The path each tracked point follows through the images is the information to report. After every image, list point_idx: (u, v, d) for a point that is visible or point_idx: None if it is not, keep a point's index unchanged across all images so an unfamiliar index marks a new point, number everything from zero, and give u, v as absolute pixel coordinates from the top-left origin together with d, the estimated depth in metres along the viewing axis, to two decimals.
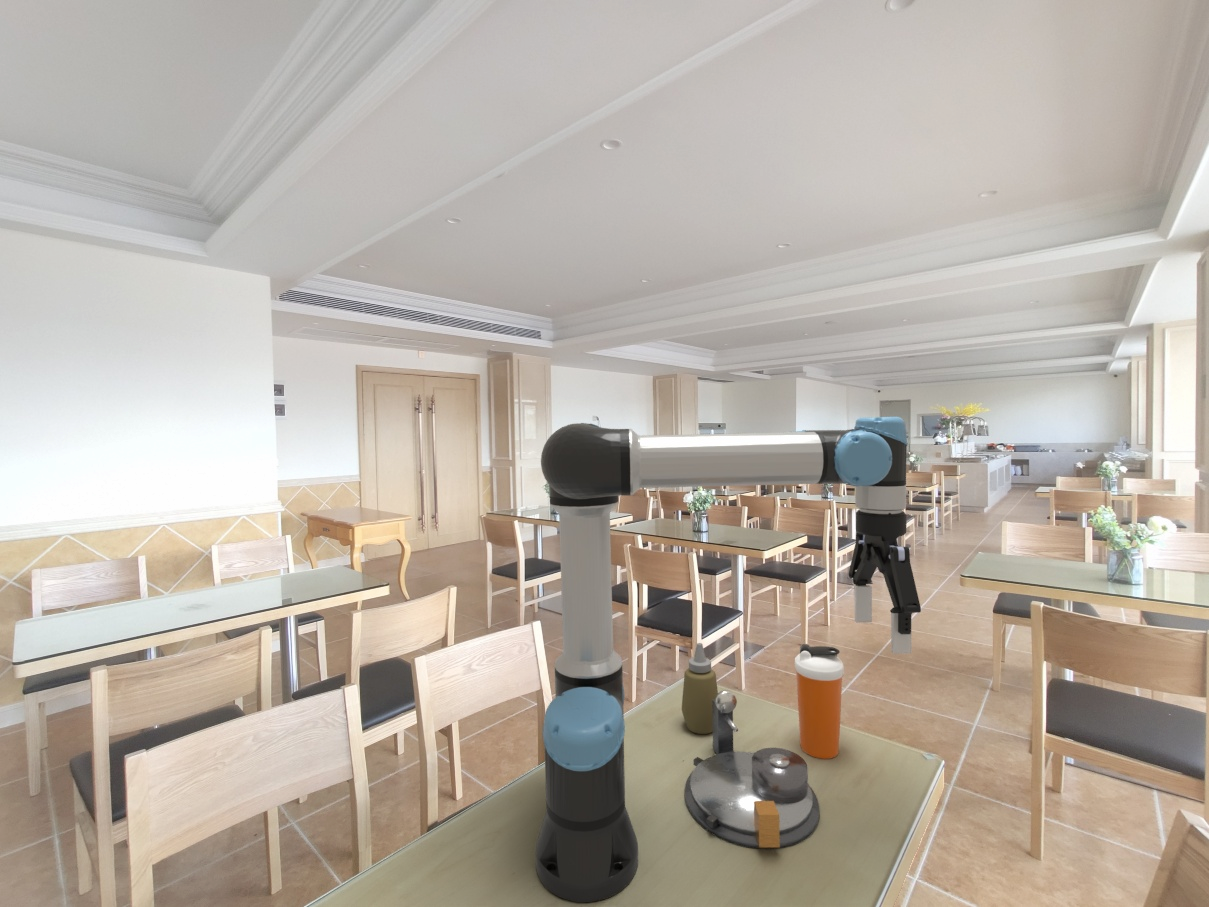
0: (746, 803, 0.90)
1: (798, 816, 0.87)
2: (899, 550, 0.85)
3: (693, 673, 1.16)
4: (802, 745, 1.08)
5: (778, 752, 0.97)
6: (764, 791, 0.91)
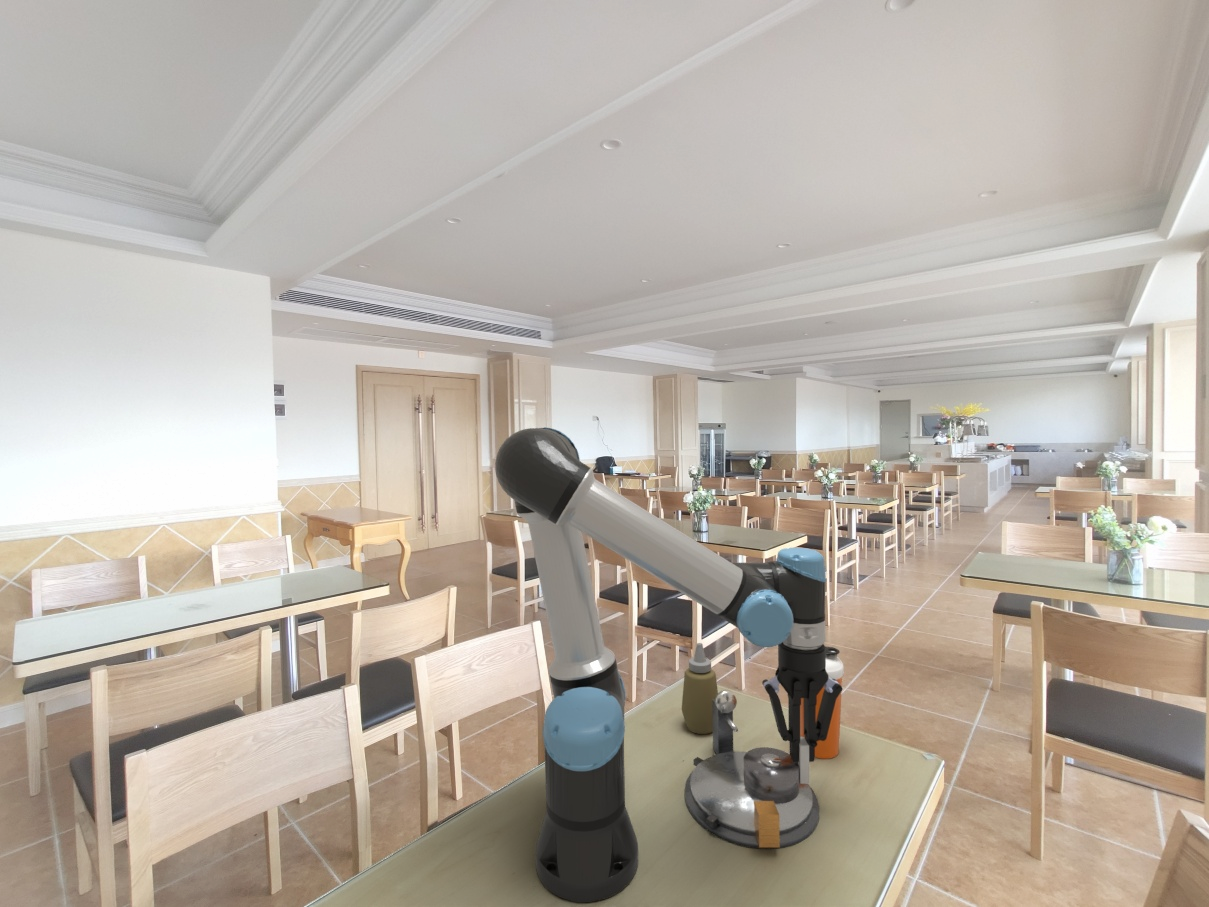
0: (746, 803, 0.90)
1: (798, 816, 0.87)
2: (764, 686, 0.94)
3: (693, 673, 1.16)
4: None
5: (770, 752, 0.97)
6: (755, 790, 0.91)
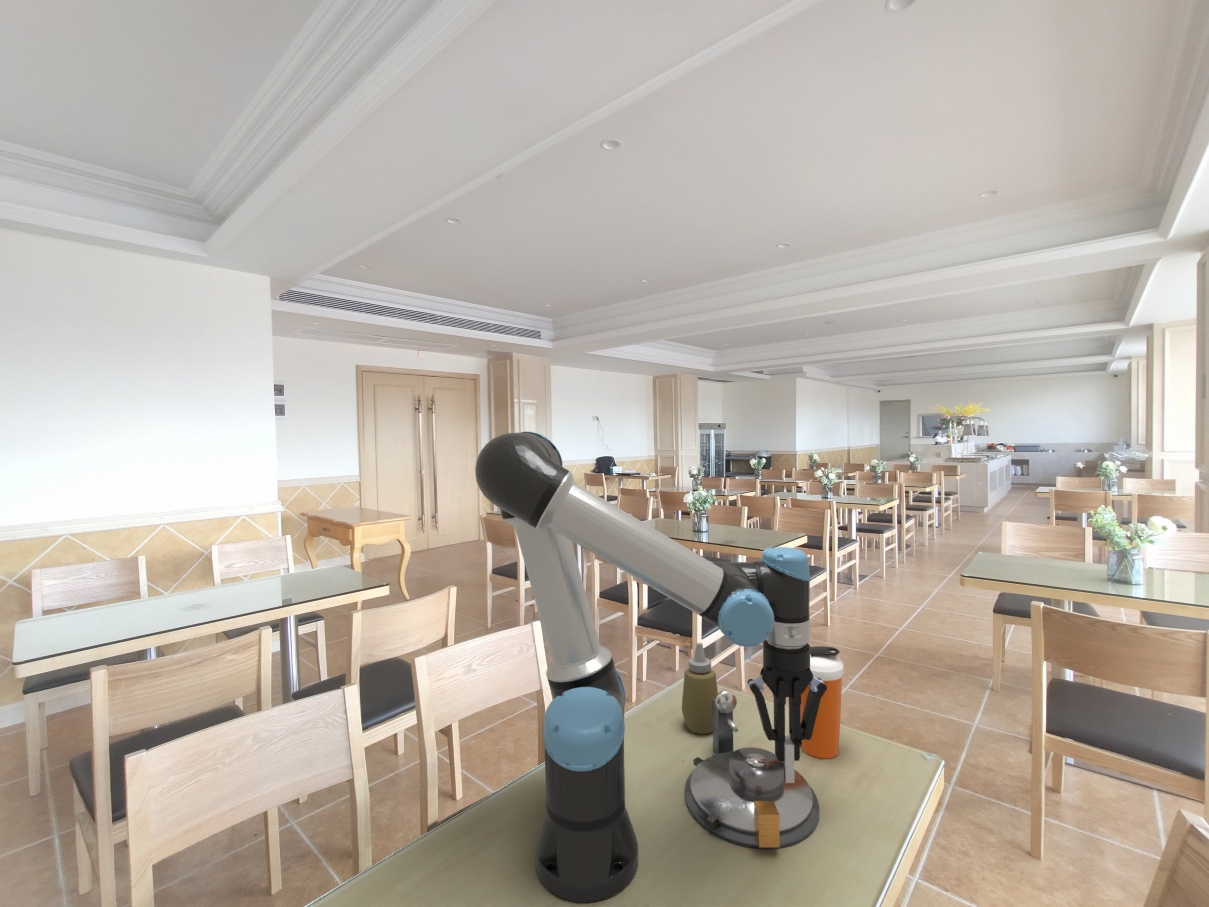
0: (746, 803, 0.90)
1: (798, 816, 0.87)
2: (749, 686, 0.94)
3: (693, 673, 1.16)
4: (802, 745, 1.08)
5: (756, 752, 0.97)
6: (740, 790, 0.91)
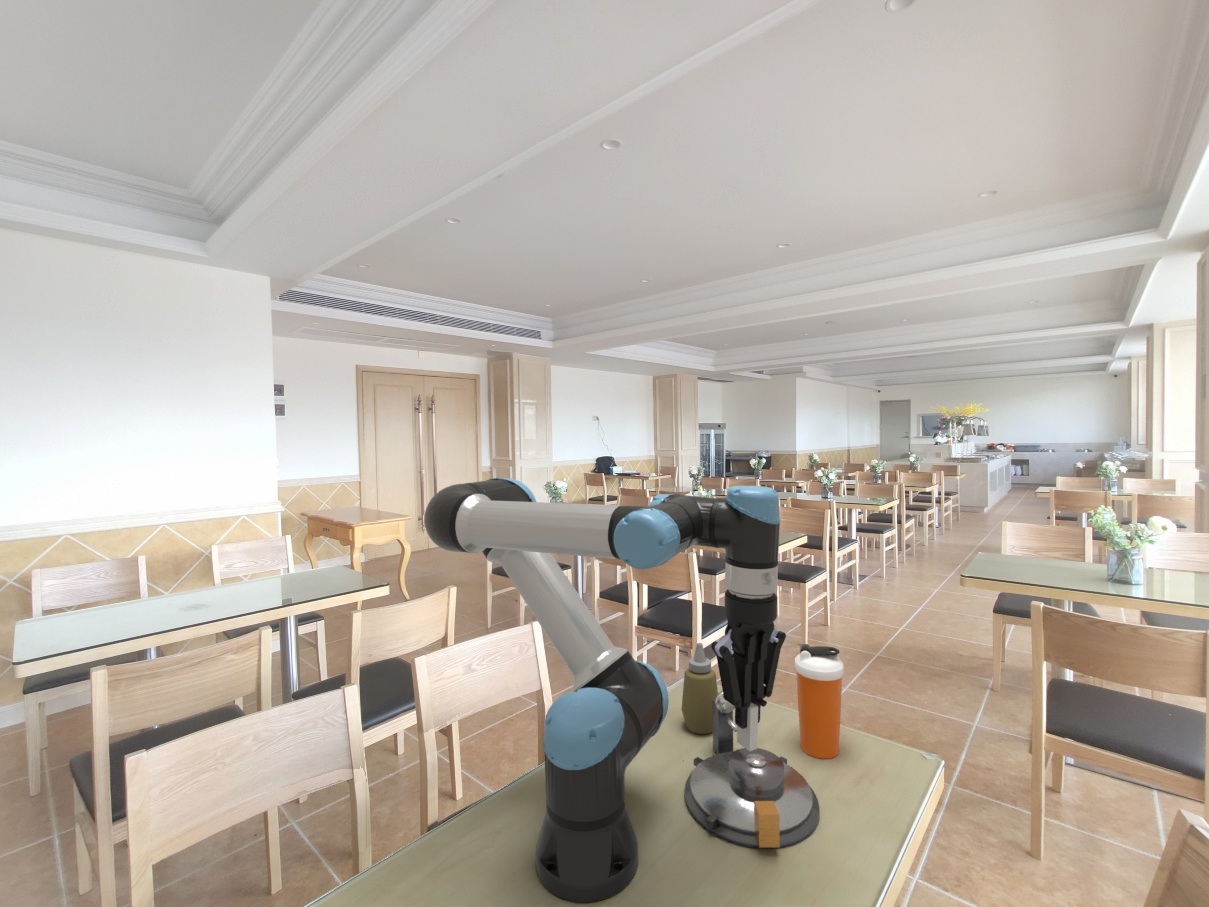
0: (746, 803, 0.90)
1: (798, 816, 0.87)
2: (716, 650, 0.79)
3: (693, 673, 1.16)
4: (802, 745, 1.08)
5: (756, 752, 0.97)
6: (740, 790, 0.91)
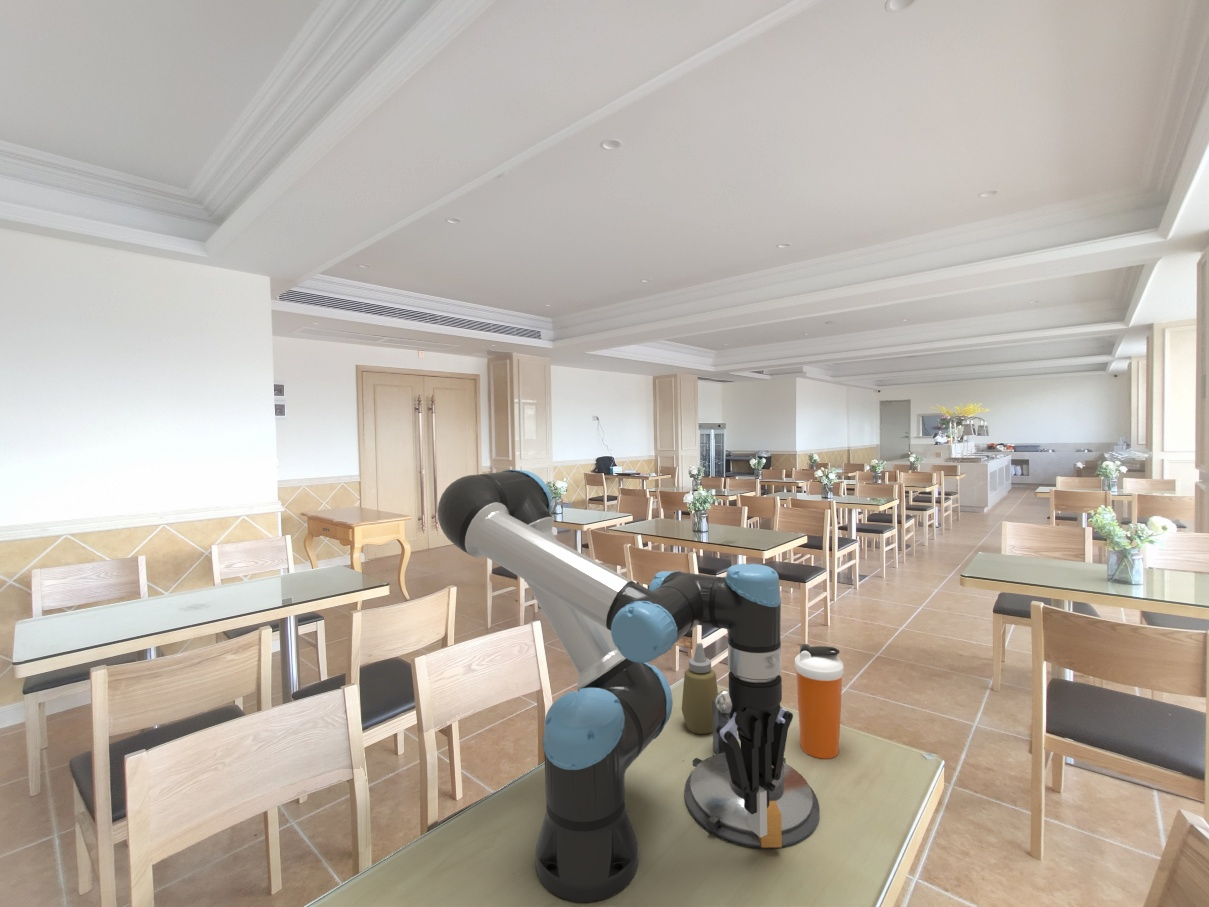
0: None
1: (799, 815, 0.87)
2: (721, 735, 0.79)
3: (693, 673, 1.16)
4: (802, 745, 1.08)
5: None
6: (740, 790, 0.91)
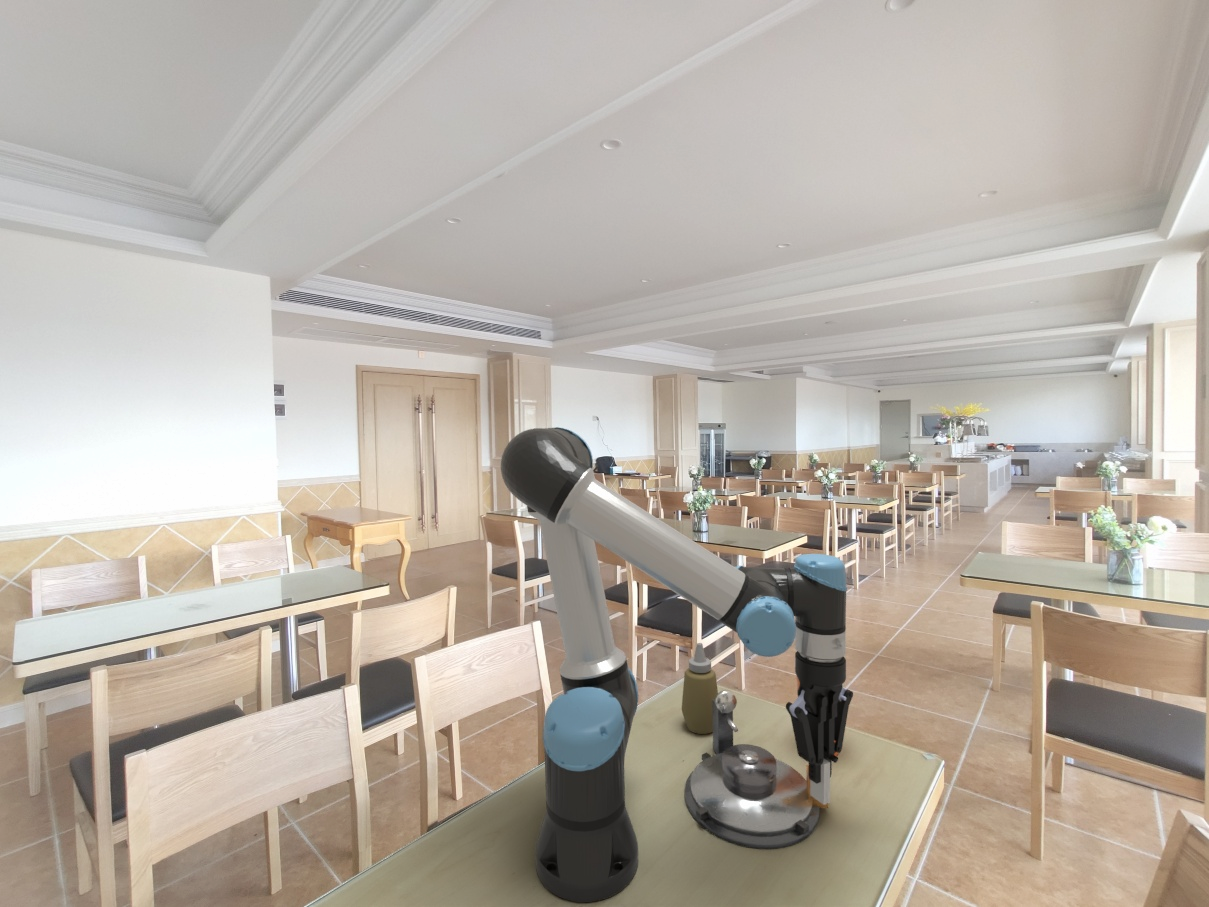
0: (777, 795, 0.92)
1: (792, 770, 0.98)
2: (790, 710, 0.85)
3: (693, 673, 1.16)
4: None
5: (731, 754, 0.97)
6: (768, 790, 0.91)
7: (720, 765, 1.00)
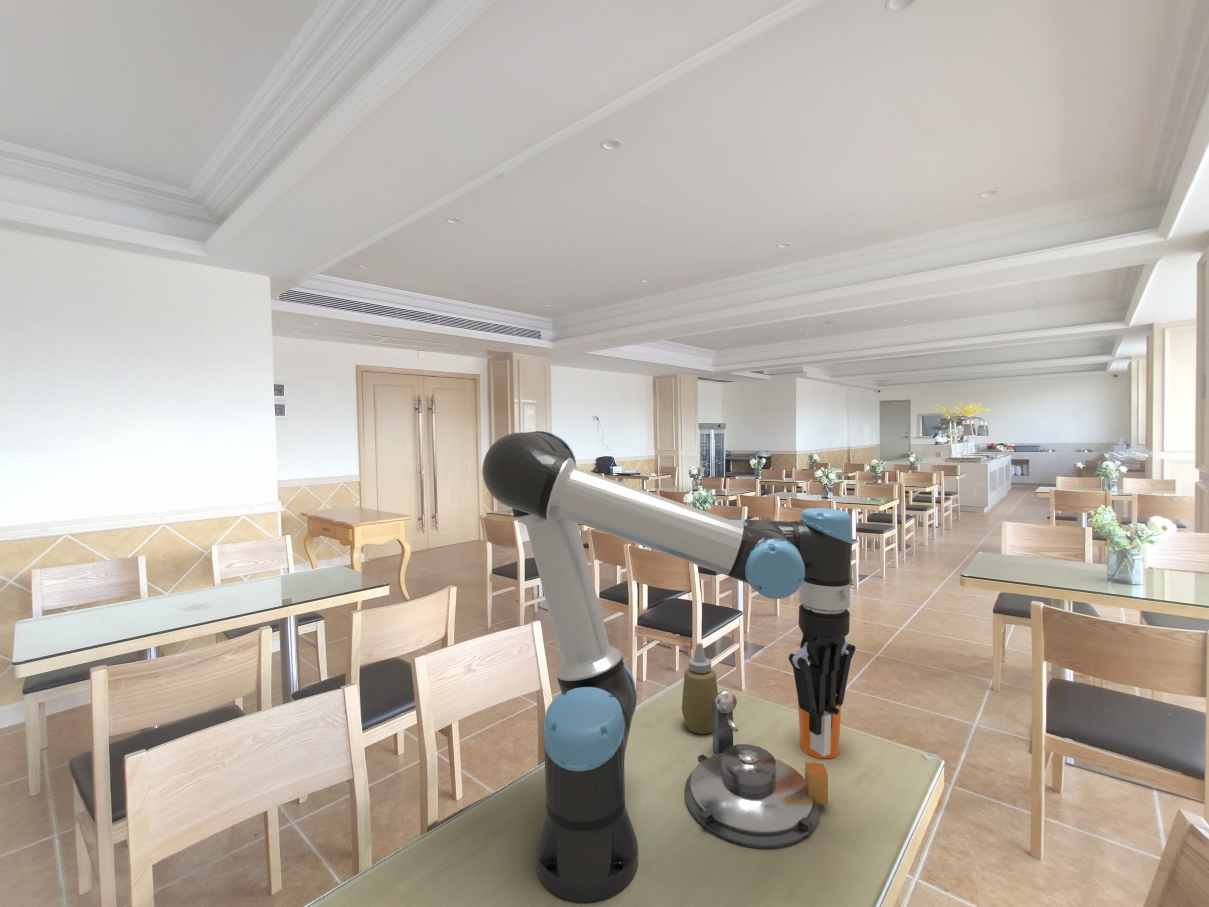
0: (778, 793, 0.92)
1: (789, 767, 0.99)
2: (793, 661, 0.86)
3: (693, 673, 1.16)
4: (802, 745, 1.08)
5: (730, 755, 0.96)
6: (769, 789, 0.92)
7: (718, 766, 1.00)
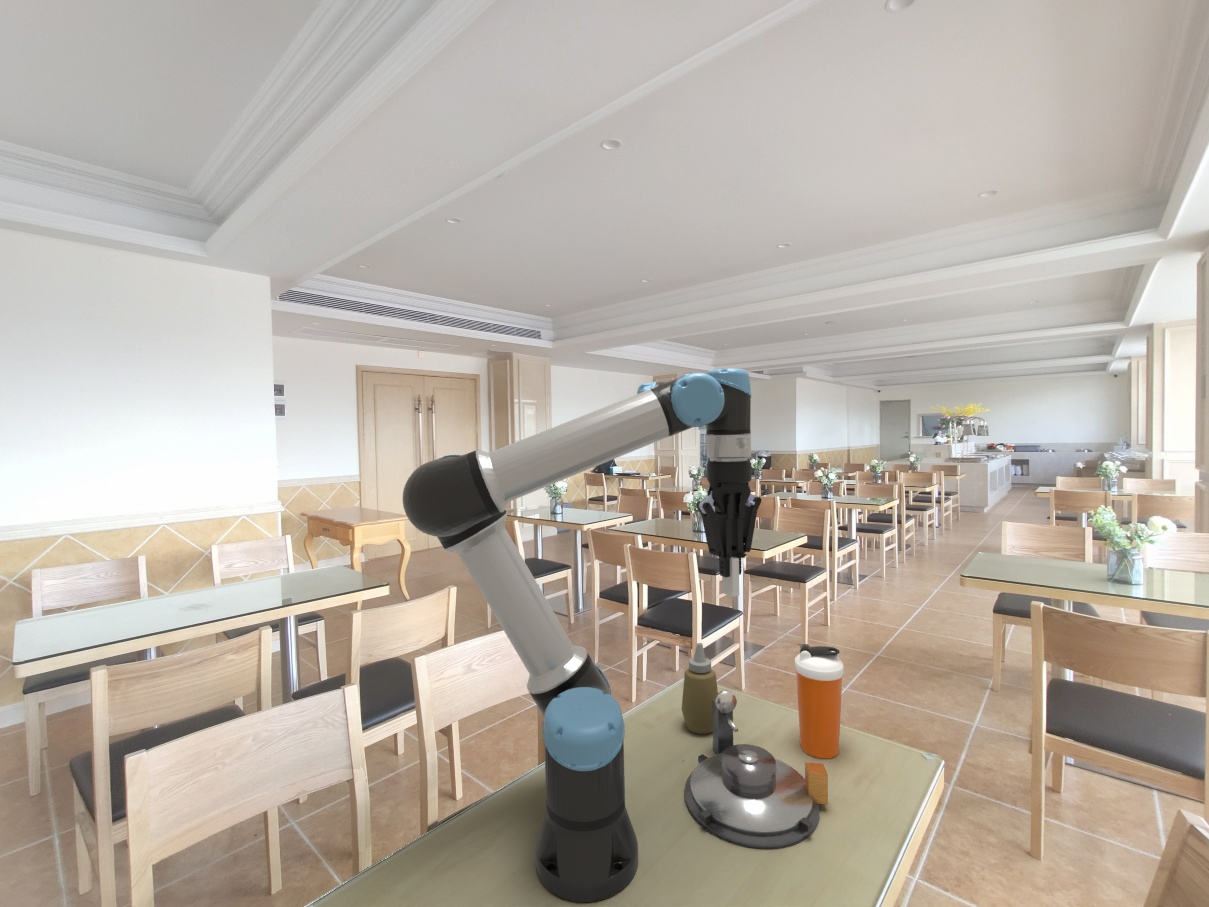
0: (778, 793, 0.92)
1: (789, 767, 0.99)
2: (700, 507, 0.93)
3: (693, 673, 1.16)
4: (802, 745, 1.08)
5: (730, 755, 0.96)
6: (769, 789, 0.92)
7: (718, 766, 1.00)
